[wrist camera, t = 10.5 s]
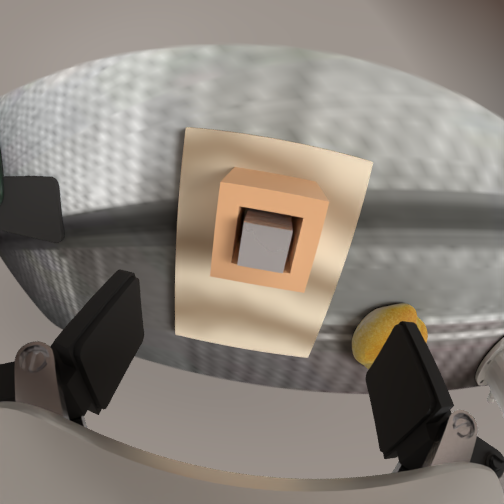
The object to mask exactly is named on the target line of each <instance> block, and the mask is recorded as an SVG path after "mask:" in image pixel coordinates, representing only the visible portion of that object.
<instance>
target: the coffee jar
mask: <svg viewBox="0 0 504 504" xmlns="http://www.w3.org/2000/svg"><path fill="white" fill-rule="evenodd" d="M3 198H4V182H3V170H2V160H1V152H0V205H1V203H2V201H3Z"/></svg>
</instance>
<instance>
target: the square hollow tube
mask: <svg viewBox="0 0 504 504" xmlns="http://www.w3.org/2000/svg"><path fill="white" fill-rule="evenodd" d="M328 205H329V200H328V199H327V197H326V196H325V194H324V193H323V191H322V190H321V188H320V187H319V185H318V184H317V182H315V181H311V180H306V179H301V178H296V177H291V176H286V175H280V174H275V173H269V172H264V171H258V170H252V169H245V168H239V167H234V168H233V169H232V170H231V171H230V172H229V173H228V174H227V175H226V176H225V178H224V179H223V180H222V181H221V182H220V189H219V197H218V205H217V214H216V222H215V231H214V241H213V251H212V261H211V271H210V276H211V277H216V278H221V279H227V280H232V281H238V282H243V283H249V284H254V285H260V286H266V287H272V288H278V289H284V290H290V291H296V292H302V293H304V292H305V289H306V285H307V282H308V279H309V275H310V272H311V268H312V265H313V261H314V258H315V254H316V251H317V247H318V244H319V240H320V236H321V232H322V229H323V225H324V221H325V217H326V213H327V209H328ZM245 207H247V208H253V209H258V210H264V211H270V212H275V213H281V214H286V215H291V216H292V219H291V221H292V228H293V233H292V237H291V241H290V246H289V250H288V254H287V258H286V262H285V266H284V271H283V273H278V272H272V271H266V270H261V269H255V268H249V267H244V266H238V265H237V263H238V257H239V250H240V244H241V237H242V231H243V230H242V225H243V219H244V212H245Z"/></svg>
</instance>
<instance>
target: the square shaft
mask: <svg viewBox="0 0 504 504" xmlns="http://www.w3.org/2000/svg"><path fill="white" fill-rule="evenodd" d="M292 233H293V228H292V221H291V215H286V214H281V213H275V212H270V211H264V210H258V209H253V208H248V211H247V214H246V217H245V220H244V224H243V231H242V237H241V244H240V250H239V257H238V263H237V265H238V266H244V267H249V268H255V269H261V270H266V271H272V272H278V273H283V271H284V266H285V262H286V258H287V254H288V250H289V246H290V241H291V237H292Z"/></svg>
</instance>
